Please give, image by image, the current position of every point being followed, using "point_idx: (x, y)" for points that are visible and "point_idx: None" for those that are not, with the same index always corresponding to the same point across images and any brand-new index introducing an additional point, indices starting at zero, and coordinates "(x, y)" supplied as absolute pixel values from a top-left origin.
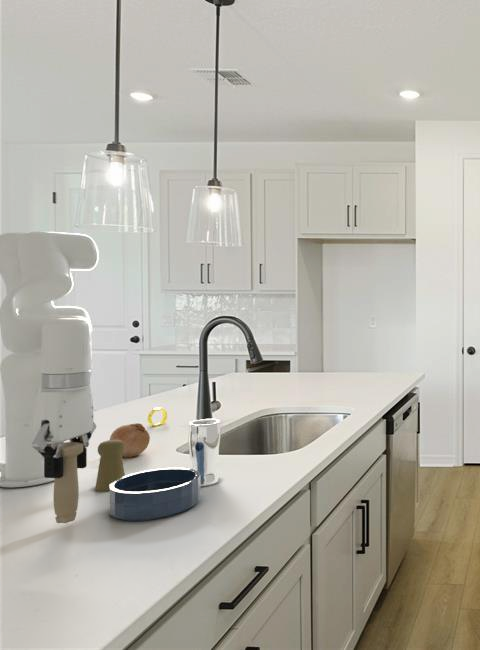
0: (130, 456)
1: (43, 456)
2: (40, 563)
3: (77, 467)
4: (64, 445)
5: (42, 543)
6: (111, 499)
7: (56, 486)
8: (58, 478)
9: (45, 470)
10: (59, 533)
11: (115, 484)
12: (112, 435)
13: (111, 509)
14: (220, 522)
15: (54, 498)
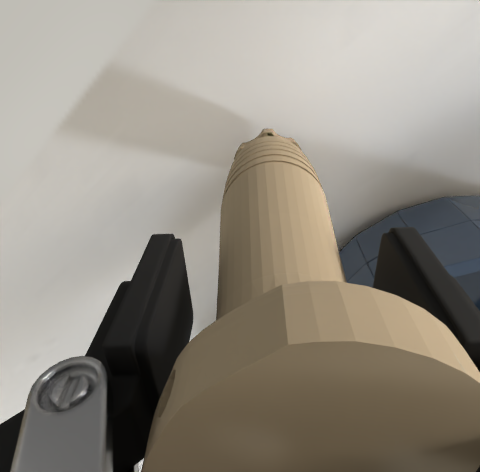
0: None
1: (46, 393)
2: (42, 263)
3: (373, 286)
4: (316, 462)
5: (138, 177)
6: (358, 280)
7: (221, 224)
8: (219, 260)
9: (116, 292)
10: (215, 170)
11: (461, 271)
12: None
13: (348, 258)
14: None
15: (231, 178)
